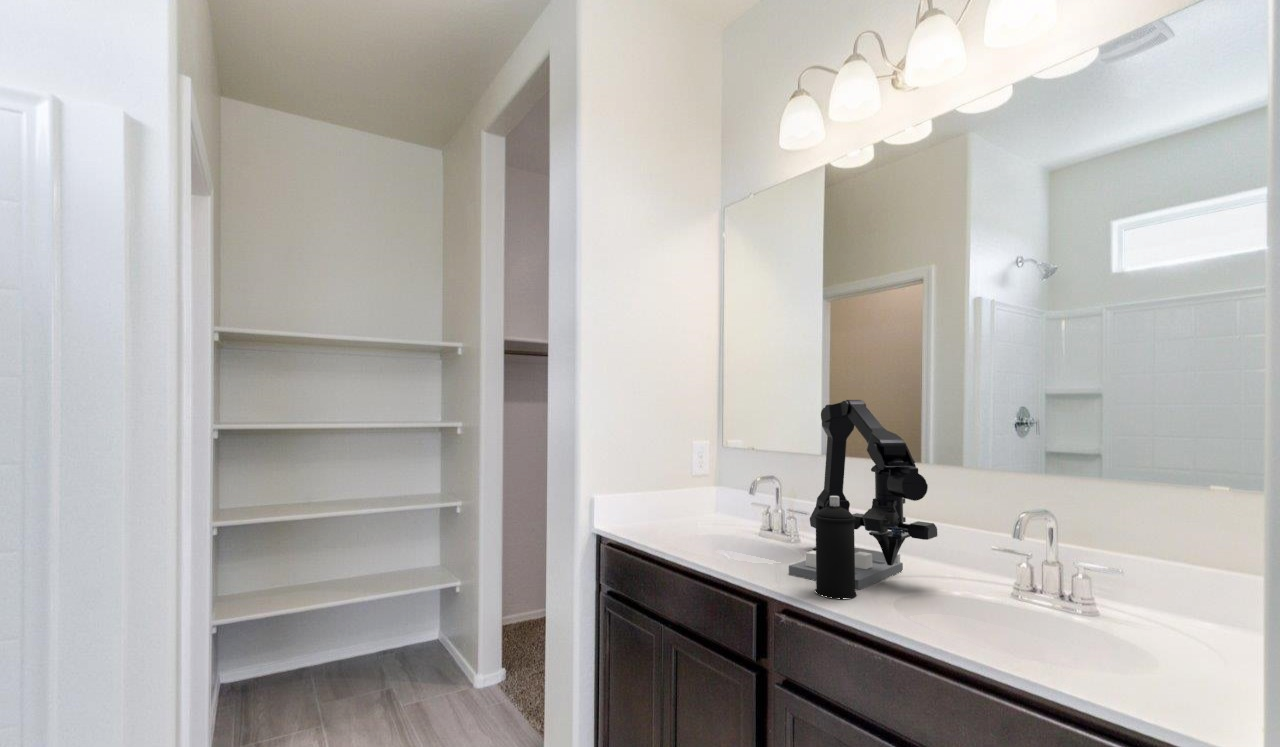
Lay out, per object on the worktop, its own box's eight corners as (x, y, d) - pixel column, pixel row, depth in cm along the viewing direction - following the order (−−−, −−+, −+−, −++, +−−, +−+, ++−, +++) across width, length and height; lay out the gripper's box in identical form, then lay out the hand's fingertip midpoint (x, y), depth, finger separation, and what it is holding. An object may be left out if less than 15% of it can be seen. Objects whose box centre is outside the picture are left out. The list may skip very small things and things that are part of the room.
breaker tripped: (860, 564, 146) (859, 551, 147) (872, 567, 144) (872, 553, 144) (853, 567, 144) (853, 553, 144) (865, 569, 142) (865, 555, 142)
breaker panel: (836, 558, 161) (836, 542, 161) (902, 571, 149) (902, 554, 149) (788, 574, 146) (788, 556, 146) (858, 589, 133) (858, 570, 134)
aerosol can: (859, 601, 126) (857, 499, 127) (816, 598, 127) (815, 498, 128) (853, 589, 134) (852, 494, 135) (813, 587, 135) (812, 493, 137)
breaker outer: (813, 563, 147) (813, 550, 148) (824, 565, 145) (824, 552, 145) (805, 565, 145) (805, 552, 145) (817, 568, 143) (817, 554, 143)
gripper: (832, 493, 142) (833, 563, 141) (916, 502, 128) (917, 580, 128) (856, 488, 149) (857, 555, 149) (937, 497, 136) (939, 570, 135)
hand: (890, 565), depth 140 cm, fingers closed
